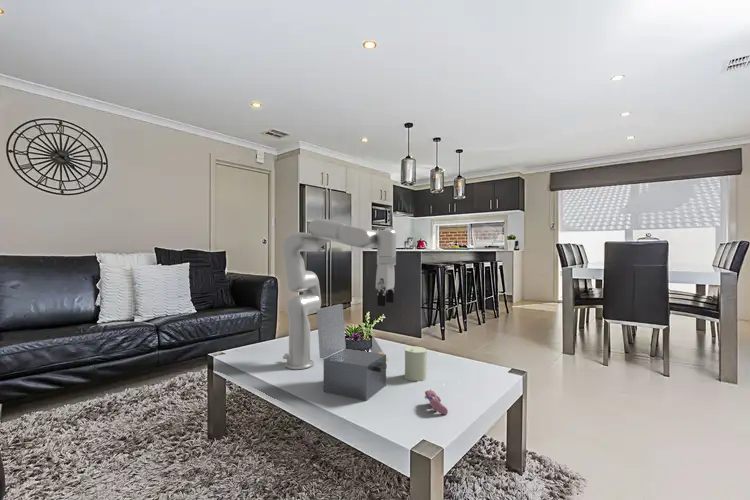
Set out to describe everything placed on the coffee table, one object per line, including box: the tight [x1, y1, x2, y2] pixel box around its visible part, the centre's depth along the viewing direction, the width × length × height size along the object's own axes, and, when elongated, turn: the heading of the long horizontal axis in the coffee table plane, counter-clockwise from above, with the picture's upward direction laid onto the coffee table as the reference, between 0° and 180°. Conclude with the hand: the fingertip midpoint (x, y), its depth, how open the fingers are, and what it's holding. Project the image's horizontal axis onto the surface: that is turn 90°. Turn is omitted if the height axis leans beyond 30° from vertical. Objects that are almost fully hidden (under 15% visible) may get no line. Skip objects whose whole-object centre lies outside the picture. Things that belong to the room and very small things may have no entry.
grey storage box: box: [322, 348, 388, 402], centre depth 136 cm, size 21×16×12 cm
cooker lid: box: [316, 303, 347, 359], centre depth 141 cm, size 18×16×3 cm
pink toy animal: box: [424, 389, 449, 415], centre depth 119 cm, size 10×5×7 cm, turn 5°
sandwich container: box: [372, 334, 389, 362], centre depth 174 cm, size 9×15×15 cm, turn 47°
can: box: [403, 346, 428, 382], centre depth 149 cm, size 9×9×12 cm
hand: (385, 304), depth 143 cm, fingers open, 9 cm apart
